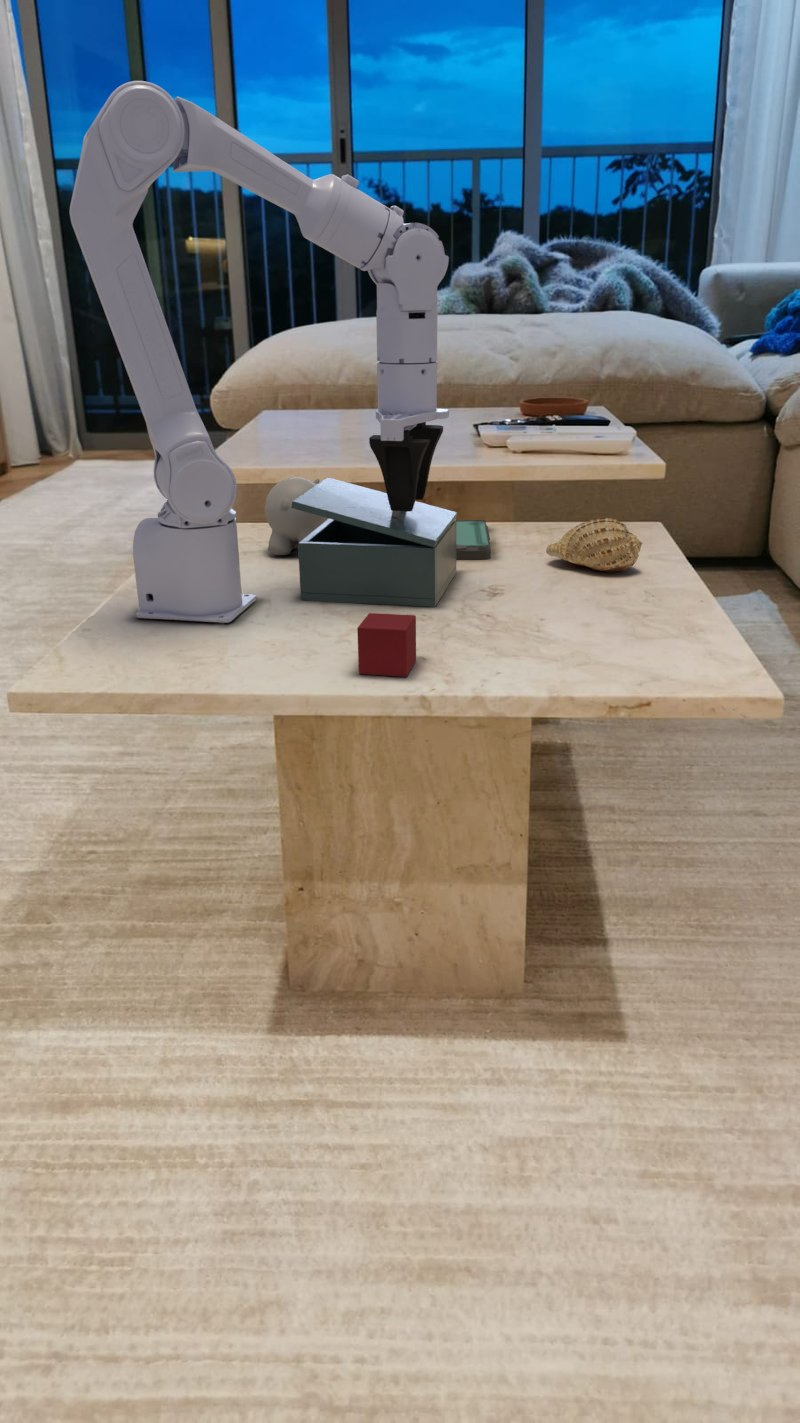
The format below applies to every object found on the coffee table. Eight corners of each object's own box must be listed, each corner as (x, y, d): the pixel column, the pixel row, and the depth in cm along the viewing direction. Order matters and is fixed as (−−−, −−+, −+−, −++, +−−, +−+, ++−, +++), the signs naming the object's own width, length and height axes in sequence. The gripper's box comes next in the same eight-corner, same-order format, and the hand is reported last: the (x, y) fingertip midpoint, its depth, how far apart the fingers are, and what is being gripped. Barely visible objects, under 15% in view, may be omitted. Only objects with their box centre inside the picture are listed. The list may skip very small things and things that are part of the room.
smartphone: (426, 549, 120) (427, 518, 134) (427, 560, 121) (427, 528, 134) (492, 548, 120) (487, 518, 134) (492, 559, 120) (486, 528, 134)
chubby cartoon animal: (343, 535, 132) (340, 465, 129) (322, 560, 121) (318, 484, 118) (286, 534, 133) (282, 464, 130) (260, 558, 122) (255, 483, 119)
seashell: (560, 601, 115) (649, 565, 111) (537, 550, 113) (628, 512, 110) (564, 581, 122) (648, 546, 118) (543, 533, 120) (628, 497, 117)
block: (358, 674, 87) (357, 627, 86) (370, 657, 91) (368, 612, 89) (406, 677, 86) (406, 630, 85) (416, 660, 90) (416, 615, 88)
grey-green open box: (300, 600, 107) (297, 543, 104) (334, 567, 118) (332, 515, 116) (435, 607, 104) (435, 548, 102) (456, 572, 115) (456, 519, 113)
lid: (291, 508, 103) (299, 459, 101) (326, 483, 114) (335, 439, 112) (434, 547, 102) (445, 498, 100) (455, 518, 113) (466, 474, 111)
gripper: (434, 369, 94) (433, 521, 100) (460, 356, 108) (458, 492, 113) (357, 368, 96) (360, 518, 101) (392, 355, 109) (393, 489, 114)
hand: (407, 504), depth 107 cm, fingers closed on lid, 5 cm apart
